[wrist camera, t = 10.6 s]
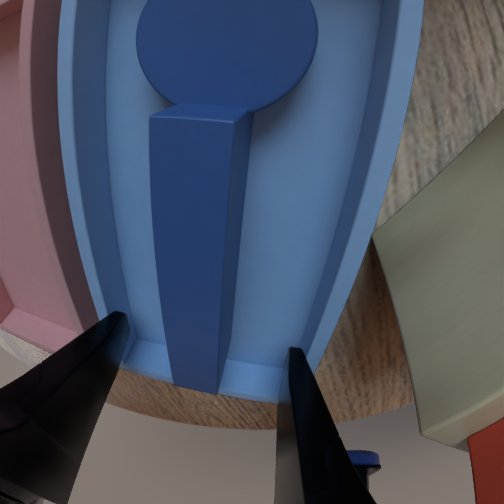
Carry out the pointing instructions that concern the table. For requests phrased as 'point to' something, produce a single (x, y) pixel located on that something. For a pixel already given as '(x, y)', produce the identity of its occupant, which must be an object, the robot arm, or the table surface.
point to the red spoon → (488, 463)
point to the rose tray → (36, 187)
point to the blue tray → (257, 187)
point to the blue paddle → (210, 154)
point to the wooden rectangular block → (452, 291)
